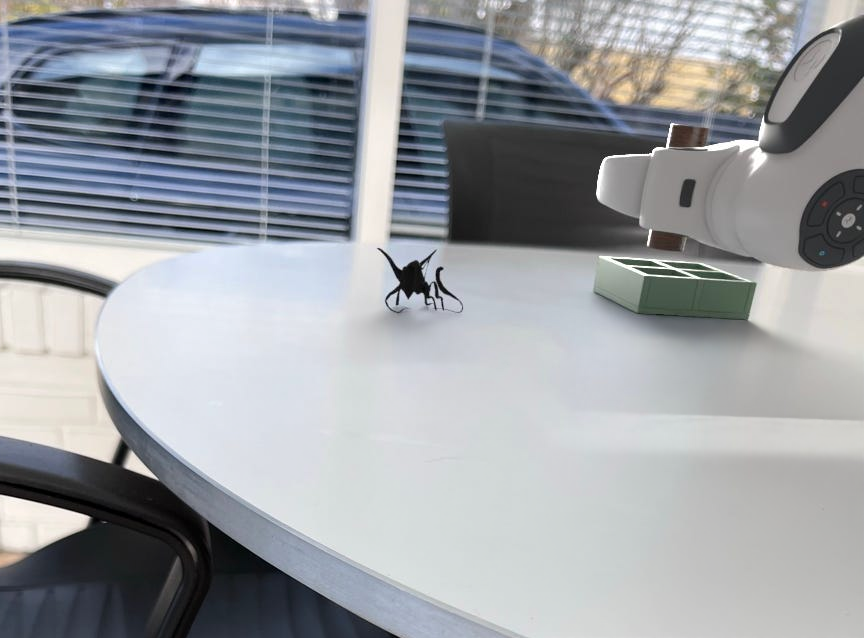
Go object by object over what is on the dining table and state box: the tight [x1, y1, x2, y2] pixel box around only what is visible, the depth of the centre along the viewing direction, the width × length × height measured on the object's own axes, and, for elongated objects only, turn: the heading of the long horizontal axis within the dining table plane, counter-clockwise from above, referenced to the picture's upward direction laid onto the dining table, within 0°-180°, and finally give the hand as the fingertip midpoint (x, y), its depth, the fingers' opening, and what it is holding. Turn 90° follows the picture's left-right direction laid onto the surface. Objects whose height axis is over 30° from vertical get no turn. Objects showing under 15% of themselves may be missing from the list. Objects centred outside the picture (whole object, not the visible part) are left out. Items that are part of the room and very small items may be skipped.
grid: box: [592, 255, 758, 321], centre depth 110 cm, size 12×12×4 cm
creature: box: [376, 247, 464, 314], centre depth 95 cm, size 8×5×8 cm
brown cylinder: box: [646, 123, 710, 253], centre depth 102 cm, size 4×4×11 cm
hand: (674, 182), depth 103 cm, fingers closed on brown cylinder, 3 cm apart
